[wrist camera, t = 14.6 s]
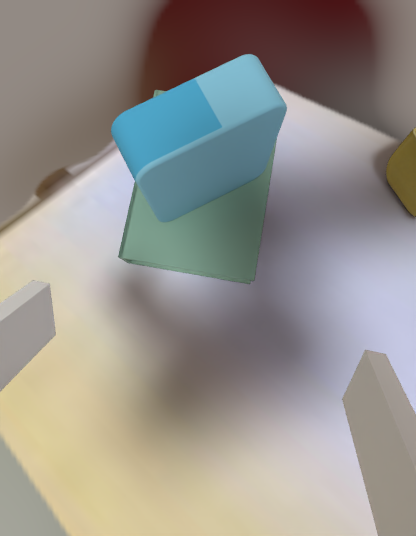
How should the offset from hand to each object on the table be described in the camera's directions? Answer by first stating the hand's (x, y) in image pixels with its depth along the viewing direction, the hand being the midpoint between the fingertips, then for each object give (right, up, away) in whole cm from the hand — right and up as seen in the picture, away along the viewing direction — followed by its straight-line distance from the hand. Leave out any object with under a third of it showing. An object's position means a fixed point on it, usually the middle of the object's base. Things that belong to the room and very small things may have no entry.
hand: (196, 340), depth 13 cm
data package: (0, +12, +20) cm, 23 cm away
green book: (0, +12, +24) cm, 26 cm away
